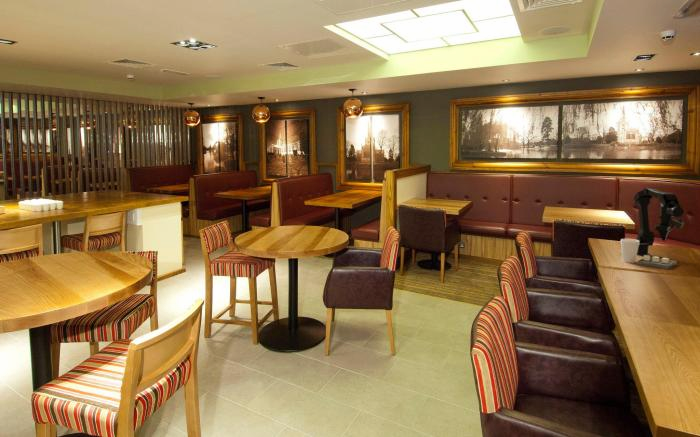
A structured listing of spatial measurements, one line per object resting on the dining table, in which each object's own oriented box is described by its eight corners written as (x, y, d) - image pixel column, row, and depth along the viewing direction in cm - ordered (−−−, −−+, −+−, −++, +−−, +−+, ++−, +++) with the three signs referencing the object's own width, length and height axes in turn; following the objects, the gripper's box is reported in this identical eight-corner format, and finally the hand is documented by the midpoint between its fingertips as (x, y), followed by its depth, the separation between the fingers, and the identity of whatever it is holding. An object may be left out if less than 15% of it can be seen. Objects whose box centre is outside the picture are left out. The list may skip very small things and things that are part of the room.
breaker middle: (653, 260, 251) (653, 256, 250) (658, 261, 249) (659, 257, 249) (652, 261, 249) (652, 257, 249) (657, 262, 247) (658, 257, 247)
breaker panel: (646, 259, 262) (646, 256, 262) (676, 264, 251) (676, 260, 250) (637, 264, 252) (637, 261, 252) (668, 269, 241) (668, 265, 240)
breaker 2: (662, 262, 248) (663, 257, 247) (668, 262, 246) (668, 258, 245) (661, 262, 246) (662, 258, 246) (667, 263, 244) (667, 259, 244)
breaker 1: (644, 259, 254) (644, 255, 254) (649, 260, 252) (650, 255, 252) (643, 260, 253) (643, 255, 252) (648, 260, 251) (648, 256, 250)
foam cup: (632, 259, 263) (634, 238, 261) (641, 263, 254) (643, 241, 252) (616, 259, 264) (617, 238, 262) (624, 263, 255) (625, 241, 253)
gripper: (678, 217, 240) (676, 245, 242) (687, 214, 252) (685, 240, 254) (655, 215, 248) (652, 242, 251) (664, 212, 260) (662, 237, 262)
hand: (663, 240), depth 254 cm, fingers closed
